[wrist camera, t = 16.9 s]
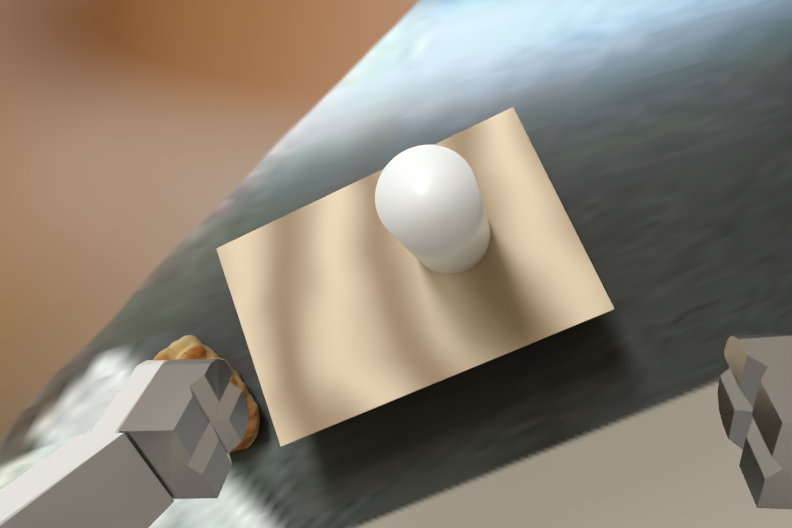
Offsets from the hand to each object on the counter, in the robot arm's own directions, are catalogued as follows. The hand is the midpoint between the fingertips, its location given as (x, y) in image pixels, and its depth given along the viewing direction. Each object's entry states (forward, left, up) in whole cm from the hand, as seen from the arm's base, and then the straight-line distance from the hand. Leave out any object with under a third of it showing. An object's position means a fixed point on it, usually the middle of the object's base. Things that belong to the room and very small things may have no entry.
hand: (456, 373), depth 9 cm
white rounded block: (0, -9, -25) cm, 26 cm away
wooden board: (+4, -8, -30) cm, 31 cm away
